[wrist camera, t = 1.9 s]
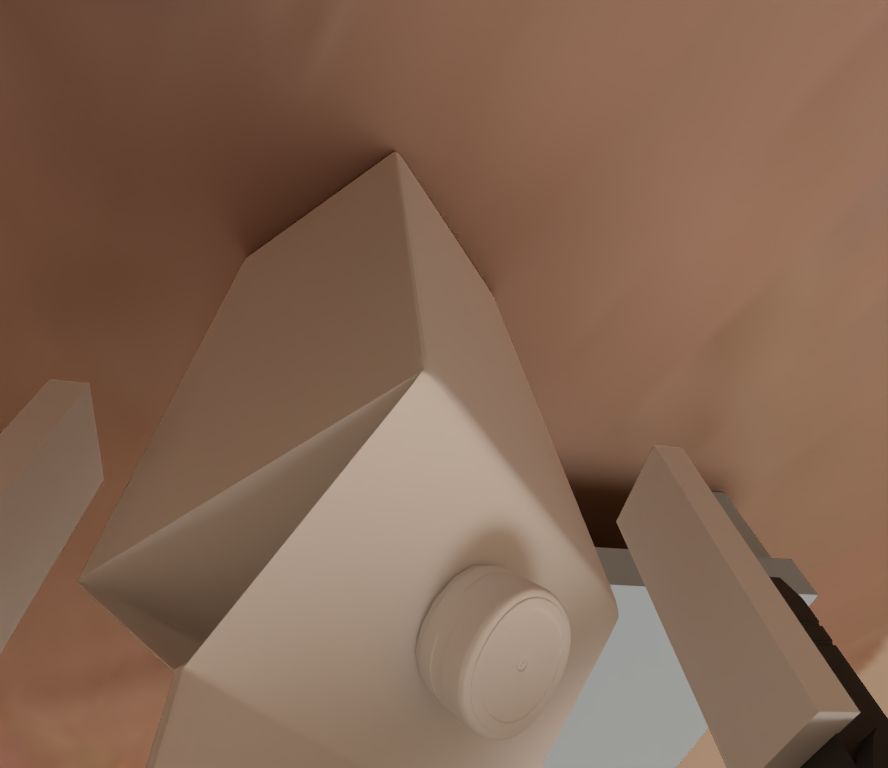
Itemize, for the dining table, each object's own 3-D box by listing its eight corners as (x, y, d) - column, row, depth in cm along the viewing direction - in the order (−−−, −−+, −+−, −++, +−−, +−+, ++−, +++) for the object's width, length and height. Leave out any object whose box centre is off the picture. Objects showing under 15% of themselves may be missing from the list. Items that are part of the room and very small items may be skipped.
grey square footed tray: (332, 686, 38) (324, 808, 32) (371, 454, 28) (370, 572, 22) (611, 689, 42) (648, 800, 36) (736, 486, 32) (818, 595, 26)
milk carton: (358, 383, 26) (329, 988, 10) (243, 257, 22) (-90, 890, 6) (495, 298, 24) (723, 857, 8) (396, 147, 20) (466, 626, 5)
